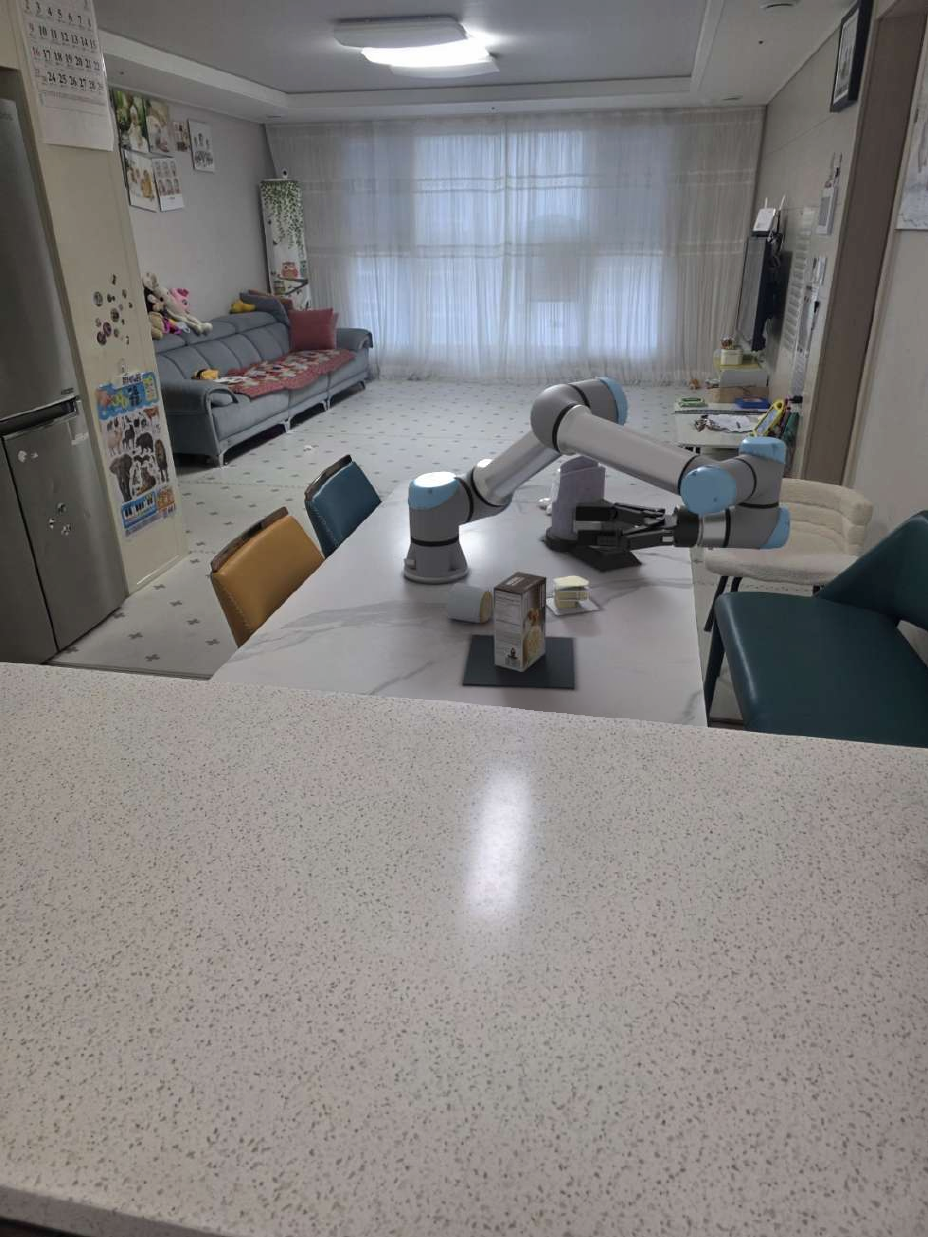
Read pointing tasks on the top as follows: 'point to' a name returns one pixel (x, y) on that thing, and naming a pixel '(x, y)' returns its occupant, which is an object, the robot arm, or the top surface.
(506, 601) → the coffee box
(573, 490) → the coffee machine
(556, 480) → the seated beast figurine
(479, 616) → the light grey tapered cylinder
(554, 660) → the mat
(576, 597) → the stacked layers on plate
